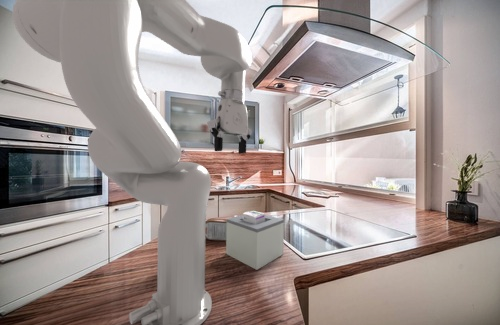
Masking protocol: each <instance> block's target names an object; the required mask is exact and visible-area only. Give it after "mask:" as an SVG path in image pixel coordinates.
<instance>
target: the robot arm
mask: <svg viewBox="0 0 500 325" xmlns="http://www.w3.org/2000/svg"><path fill="white" fill-rule="evenodd" d="M11 15H12V21H13V24H14V26H15V29H16V31H17V33H18V34H19V36H20V37H21V38H22V39H23V41H24V42H25V43H26V44H27V45H28V46H29V47H30V48H31V49H32V50H33V51H35V52H37V53H38V54H40V55H41V56H43V57H45V58H47V59H49V60H51V61H54V62H56V63H60V65H61V70H62V71H61V72H62V74H63V75H62V76H63V80H64V82H65V85H66V88H67V91H68V93H69V95H70V97H71V99H72V101H73V102H74V104H75V105H76V106H77V107H78V109H79V110H80V111H81V113H82V114H83V115H84V116H85V117H86V118H87V120H88V121H89V122H90V123H91V124H92V125H93V126H94V127H95V129H93V131H92V132H91V133H90V135H89V137H88V140H87V152H88V155H89V157H90V159H91V161H92V163H93V164H94V166H95V167H96V168H97V169H98V170H99V171H100V172H101V173H102V174H104V176H106V177H108V178H109V179H110V180H111V182H113V183H114V184H116V185H117V186H119V188H120V189H122V190H123V191H124V192H125V193H127V194H128V195H129V196H131V197H132V198H134V199H135V200H137V201H139V202H141V203H144V204H151V205H152V204H153V205H159V206H165V207H167V209H166V210H165V213H164V214H163V216H162V218H161V220H160V222H159V224H158V228H157V268H156V269H157V275H156V277H157V279H156V281H157V283H156V284H157V285H156V288H157V289H156V292H154V293H152V294H151V300H150V301H148V302H147V303H146V305H144V306H142V307H139V308H137V309H135V310H133V311H131V312H129V314H128V315H129V316H128V319H129V324H130V325H133V324H136V323H138V322H140V323H141V325H202V324H203V323H204V322H205V321H206V320H207V318H208V317H209V316H210V313H211V312H212V311H211V310H212V306H213V304H212V302H213V301H212V300H213V299H212V296H211V294H210V293H209V292H208V291H206V290H205V288H206V287H205V286H206V285H205V284H206V280H205V278H206V275H205V274H206V238H205V229H206V221H207V211H208V203H209V198H210V193H211V188H212V178H211V174H210V172H209V171H208V169H207V168H206V167H205V166H203V165H201V164H199V163H197V162H192V161H181V158H182V148H181V144H180V141H179V140H178V138H177V136H176V134H175V133H174V132H173V130H172V128H171V127H170V125H169V124H168V122H167V121H166V120H165V118H164V116H163V115H162V114H161V112H160V111H159V109H158V108H157V107H156V105H155V103H154V101H152V99H151V97H150V95H149V94H148V92H147V90H146V88H145V86H144V85H143V82H142V78H141V76H140V75H141V74H140V69H139V54H140V53H139V51H140V43H141V38H142V33H145V32H146V33H149V34H151V35H153V36H155V38H158V39H159V40H161V41H163V42H165V43H166V44H167V45H169V46H171V47H172V48H174V49H175V50H176V51H178V52H180V53H181V54H183V55H187V56H193V57H200V63H201V65H202V67H203V69H204V71H205V72H207V74H209V75H210V76H212V77H213V78H217V79H219V80H220V81H221V83H220V84H221V86H220V91H218V92H217V95H218V96H219V97H220V100H219V101H218V106H217V111H216V116H215V118H214V119H211V120H208V121H207V126H208V129H209V132H210V134H211V135H212V138H214V141H213V142H214V144H213V145H214V152H222V151H223V149H224V148H223V145H224V142H223V140H224V138H223V137H222V136H223V135H224V134H225V135H230V136H235V137H237V138H238V140H239V142H238V154H241V155H243V154H246V153H247V142H249V139H250V138H251V135H252V133H253V129H251V128H250V127H249V120H248V119H249V118H248V110H247V105H246V104H245V88H246V87H245V83H246V82H245V81H246V71H247V70H248V69H249V68H250V66H251V64H252V52H251V50H250V46H249V44H248V43H247V41H246V39H245V38H244V37H243V36H242V34H241V32H239V31H238V30H237V29H236V28H235V27H234V26H232V25H229V24H227V23H225V22H221V21H218V20H216V19H213V18H211V17H207V16H203V15H202V14H200V13H199V12H198V11H196V9H195V8H194V7H193V6H192V5H191V4H190V3H189V2H188V1H187V0H15V2H14V4H13V6H12V12H11Z"/></svg>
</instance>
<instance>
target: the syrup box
mask: <svg viewBox="0 0 500 325" xmlns="http://www.w3.org/2000/svg"><path fill="white" fill-rule="evenodd" d="M242 215H243V221H246V222H249V223H253V224H256V225H257V224H260V223H263V222H265V215H266V213H265V212H260V211H256V210H247V211H245V212H243V213H242Z"/></svg>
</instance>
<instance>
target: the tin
mask: <svg viewBox="0 0 500 325" xmlns="http://www.w3.org/2000/svg"><path fill="white" fill-rule="evenodd" d="M227 219H228V218H214V217H213V218H211V217H210V218H208V219H206V229H205V239H206V240H208V241H218V242H219V241H220V242H226V236H227Z"/></svg>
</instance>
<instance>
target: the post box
mask: <svg viewBox="0 0 500 325" xmlns="http://www.w3.org/2000/svg"><path fill="white" fill-rule="evenodd" d="M226 219H227V236H226V241H225V243H226V245H225V246H226V247H225V250H226V251H225V253H226V255H227V256H229V257H231V258H233V259H235V260H236V261H239V262H241V263H242V264H244V265H246V266H248V267H250V268H252V269H255V270H256V271H257V270H259V269H261V268H262V267H264V266H266V265H267V264H269V263H271V262H273V261H274V260H276V259H277V258H279V257H281V256H282V255H284V246H285V244H284V242H285V240H284V237H285V235H284V233H285V219H283V218H279V217H275V216H271V215H267V214H265V222H263V223H260V224H257V225H256V224H253V223H249V222H246V221H243V214H240V215H238V216H234V217H229V218H226Z"/></svg>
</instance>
